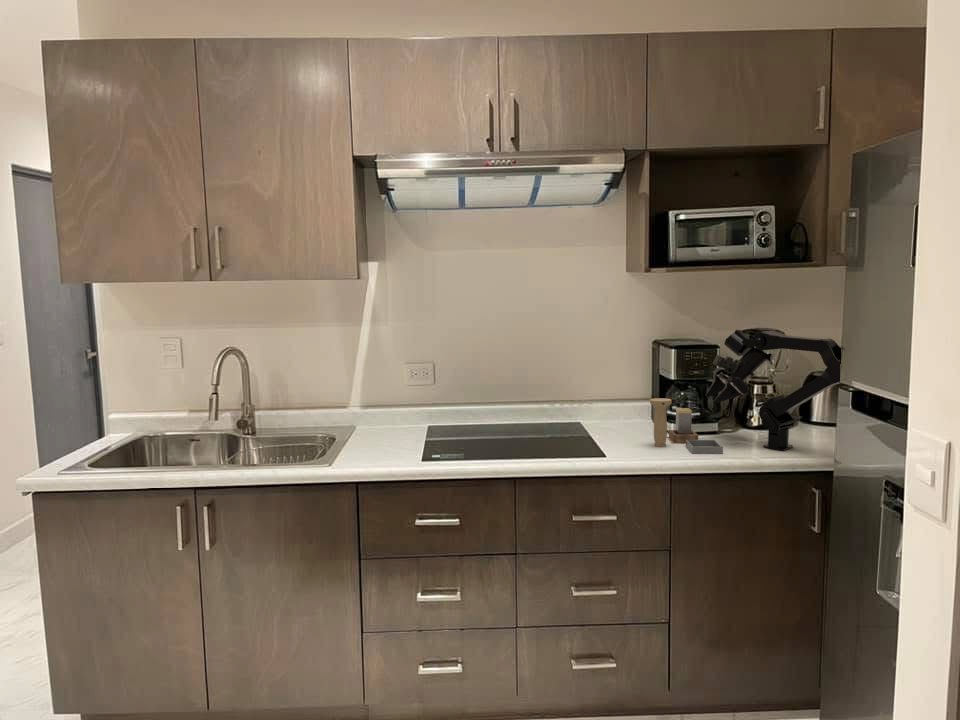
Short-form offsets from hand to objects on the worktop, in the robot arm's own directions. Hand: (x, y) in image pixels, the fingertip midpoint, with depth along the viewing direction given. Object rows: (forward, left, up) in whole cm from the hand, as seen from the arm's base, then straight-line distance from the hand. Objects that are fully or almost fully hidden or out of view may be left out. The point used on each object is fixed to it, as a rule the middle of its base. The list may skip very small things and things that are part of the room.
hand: (710, 399), depth 211 cm
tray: (+11, +5, -14) cm, 19 cm away
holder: (+5, -6, -14) cm, 16 cm away
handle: (+16, -7, -14) cm, 23 cm away
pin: (+5, -6, -13) cm, 16 cm away
